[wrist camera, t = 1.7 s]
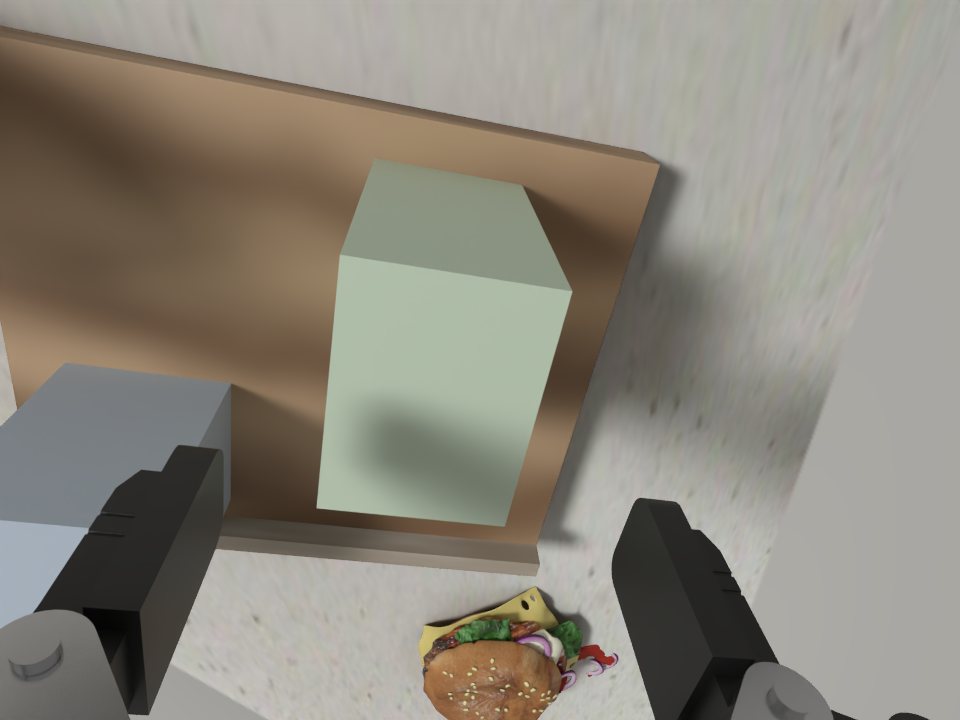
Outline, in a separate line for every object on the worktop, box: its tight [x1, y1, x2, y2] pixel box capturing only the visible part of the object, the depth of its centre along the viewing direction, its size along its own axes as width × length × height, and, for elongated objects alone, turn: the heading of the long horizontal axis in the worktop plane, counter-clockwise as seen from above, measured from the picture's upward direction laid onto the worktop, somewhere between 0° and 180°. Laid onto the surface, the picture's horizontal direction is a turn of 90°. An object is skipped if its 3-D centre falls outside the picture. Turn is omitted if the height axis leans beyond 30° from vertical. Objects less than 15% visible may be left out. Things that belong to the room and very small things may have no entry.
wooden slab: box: [0, 26, 660, 577], centre depth 25 cm, size 19×22×3 cm
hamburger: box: [418, 586, 618, 720], centre depth 35 cm, size 14×14×6 cm
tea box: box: [317, 158, 572, 527], centre depth 19 cm, size 5×7×9 cm
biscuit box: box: [0, 362, 231, 629], centre depth 22 cm, size 6×6×8 cm
